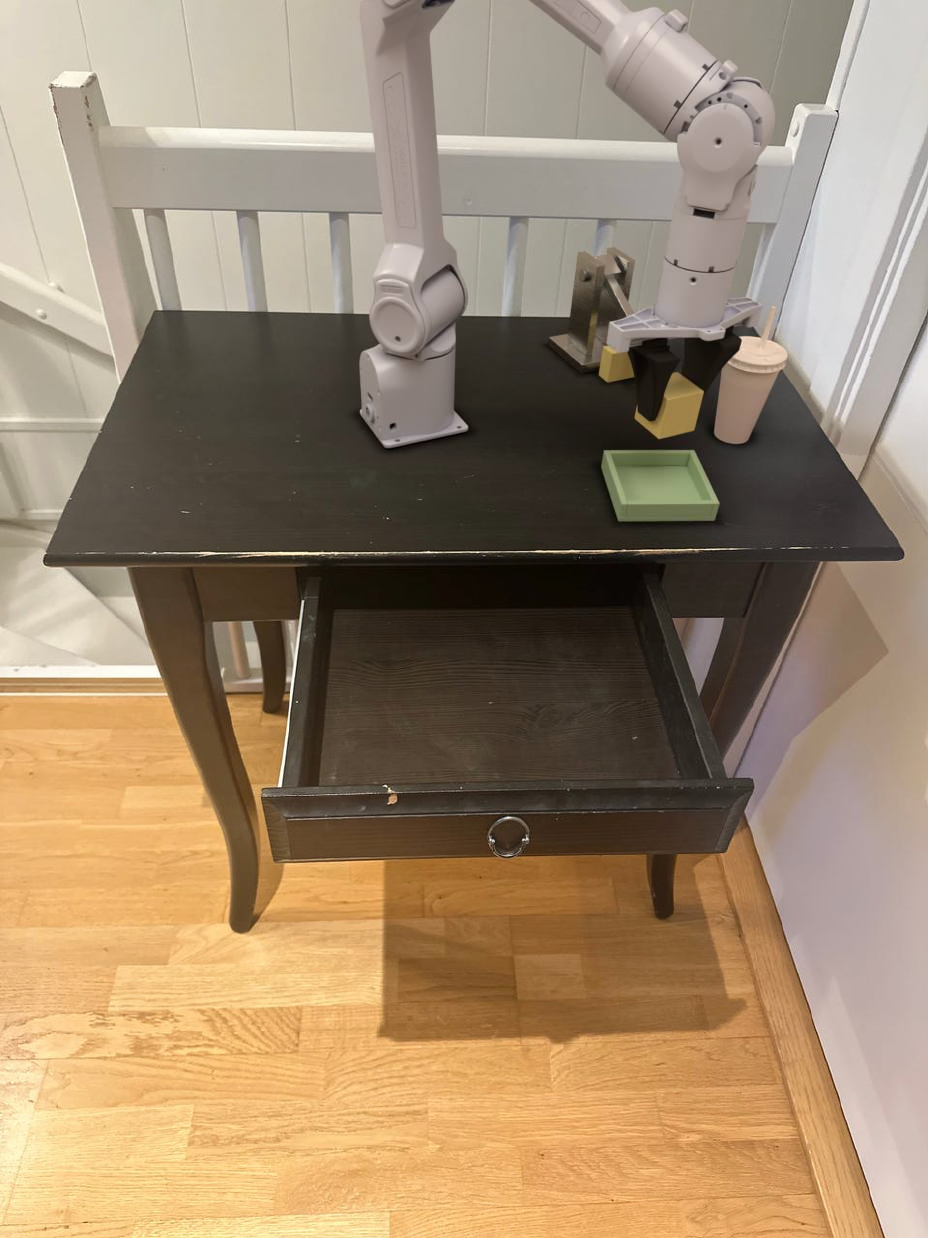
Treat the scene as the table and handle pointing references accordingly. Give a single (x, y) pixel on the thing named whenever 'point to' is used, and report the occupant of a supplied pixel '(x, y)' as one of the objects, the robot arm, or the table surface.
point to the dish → (658, 485)
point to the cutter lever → (614, 285)
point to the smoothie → (747, 385)
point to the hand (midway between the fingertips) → (666, 411)
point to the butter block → (615, 365)
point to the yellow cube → (675, 409)
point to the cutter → (591, 311)
